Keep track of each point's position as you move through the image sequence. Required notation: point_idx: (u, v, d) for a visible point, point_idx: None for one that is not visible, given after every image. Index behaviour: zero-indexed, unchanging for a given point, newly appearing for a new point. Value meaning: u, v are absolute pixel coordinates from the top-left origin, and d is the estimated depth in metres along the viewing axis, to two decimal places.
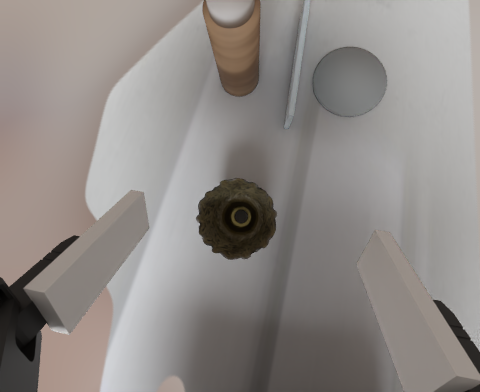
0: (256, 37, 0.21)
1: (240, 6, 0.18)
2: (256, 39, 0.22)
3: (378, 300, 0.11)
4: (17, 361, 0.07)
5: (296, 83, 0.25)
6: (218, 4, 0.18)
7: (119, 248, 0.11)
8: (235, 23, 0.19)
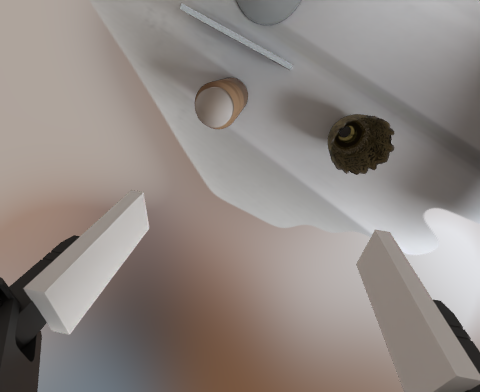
0: (234, 87, 0.26)
1: (228, 104, 0.24)
2: (234, 87, 0.26)
3: (378, 300, 0.11)
4: (17, 361, 0.07)
5: (266, 52, 0.28)
6: (222, 120, 0.25)
7: (119, 248, 0.11)
8: (233, 108, 0.25)
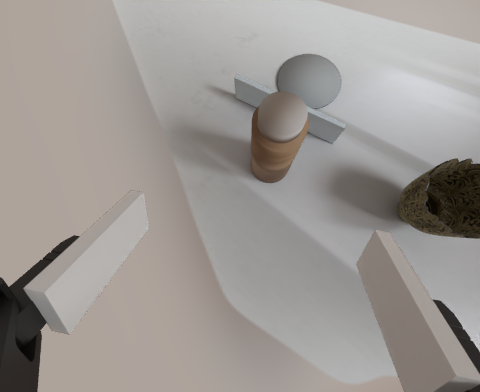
0: None
1: (303, 108, 0.18)
2: None
3: (378, 300, 0.11)
4: (17, 361, 0.07)
5: (317, 112, 0.27)
6: (294, 125, 0.18)
7: (119, 248, 0.11)
8: None
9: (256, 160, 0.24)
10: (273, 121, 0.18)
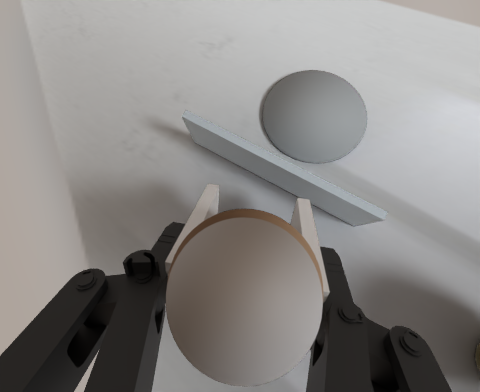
0: None
1: (309, 281, 0.06)
2: None
3: None
4: (153, 333, 0.08)
5: (331, 186, 0.14)
6: (278, 350, 0.05)
7: None
8: None
9: None
10: (211, 329, 0.06)
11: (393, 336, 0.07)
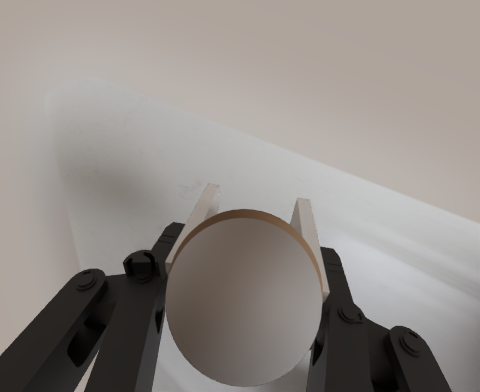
0: None
1: (309, 281, 0.06)
2: None
3: None
4: (153, 332, 0.08)
5: None
6: (277, 350, 0.05)
7: None
8: None
9: None
10: (211, 329, 0.06)
11: (393, 336, 0.07)
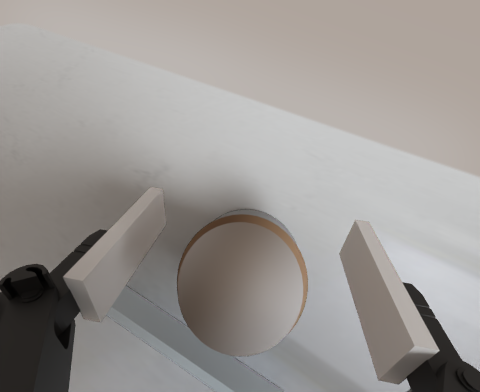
0: None
1: (293, 274, 0.07)
2: None
3: (356, 285, 0.11)
4: (54, 348, 0.07)
5: None
6: (267, 328, 0.07)
7: (142, 242, 0.12)
8: None
9: None
10: (214, 312, 0.07)
11: None
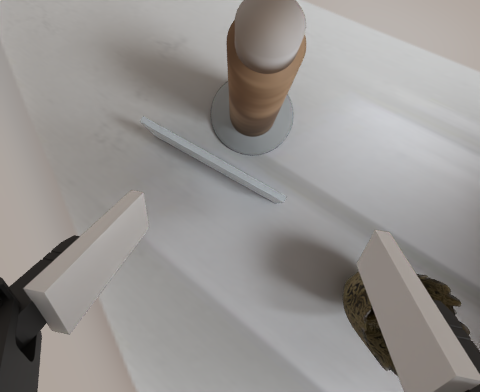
0: None
1: (300, 18, 0.13)
2: None
3: (378, 300, 0.11)
4: (17, 361, 0.07)
5: (250, 178, 0.20)
6: (285, 44, 0.13)
7: (119, 248, 0.11)
8: None
9: (235, 104, 0.19)
10: (256, 36, 0.13)
11: None
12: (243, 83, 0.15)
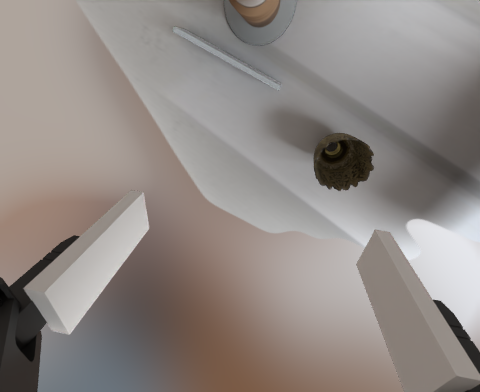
0: None
1: None
2: None
3: (378, 300, 0.11)
4: (17, 361, 0.07)
5: (254, 74, 0.29)
6: None
7: (119, 248, 0.11)
8: None
9: None
10: None
11: None
12: (238, 12, 0.21)
